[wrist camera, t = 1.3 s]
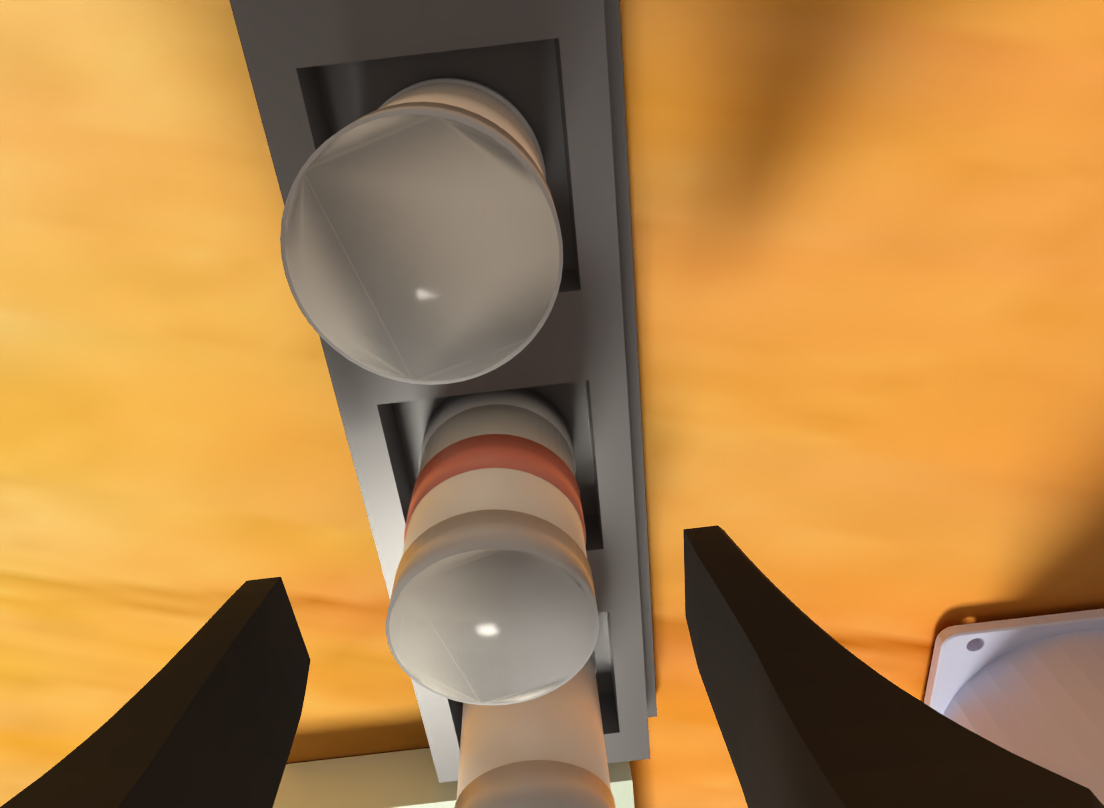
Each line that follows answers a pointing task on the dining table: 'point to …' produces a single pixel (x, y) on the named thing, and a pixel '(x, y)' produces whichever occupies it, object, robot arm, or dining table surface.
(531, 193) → the fuse
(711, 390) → the dining table surface
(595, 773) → the fuse
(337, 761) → the tray
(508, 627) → the fuse marked
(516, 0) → the fuse block
